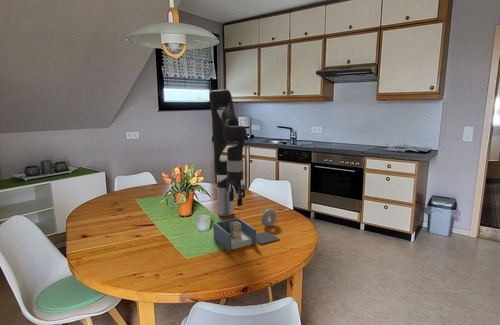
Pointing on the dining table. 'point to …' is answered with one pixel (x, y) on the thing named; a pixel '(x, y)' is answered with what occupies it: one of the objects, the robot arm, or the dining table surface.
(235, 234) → the maple block
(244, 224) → the slot box
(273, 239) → the rubber mat
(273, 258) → the dining table surface
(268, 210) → the donut
